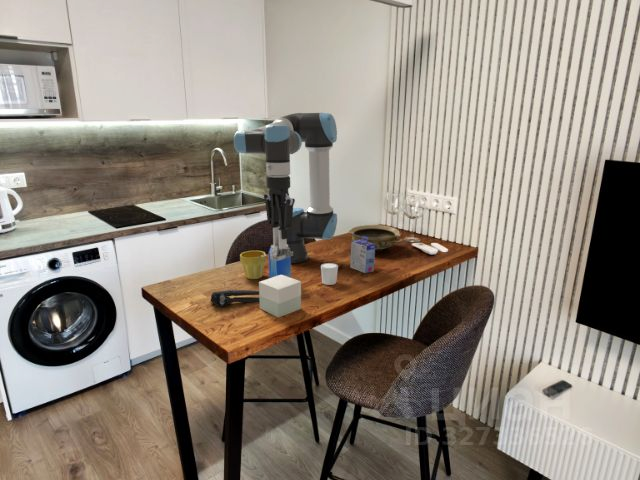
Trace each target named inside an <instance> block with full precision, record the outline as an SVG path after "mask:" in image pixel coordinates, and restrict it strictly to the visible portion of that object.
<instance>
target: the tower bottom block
mask: <svg viewBox="0 0 640 480" xmlns="http://www.w3.org/2000/svg"><path fill="white" fill-rule="evenodd" d="M258 296H259V295H258ZM259 300H260V301H259V309H261V310H262V311H265V312H266V313H269V314H271V316H274V317H276V318H281V317H284V316H285V315H288V314H291V313H293V312H296V311H299V310H301V309H302V295H301V296H298V297H296V298H293V299H291V300H288V301H286V302H283V303H281V304H278V303H275V302H273V301H271V300H268V299H266V298H263V297H261V296H259Z"/></svg>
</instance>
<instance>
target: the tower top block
mask: <svg viewBox="0 0 640 480" xmlns="http://www.w3.org/2000/svg"><path fill="white" fill-rule="evenodd" d="M258 291H259V295H258V296H261V297H263V298H266V299H268V300H271V301H273V302H275V303H278V304H281V303H283V302H286V301H288V300H291V299H293V298H296V297H298V296H301V297H302V282H301V281H300V280H297V279H295V278H292V277H291V278H290V277H287V276H284V275H278V276H275V277H272V278H269V277H268V278H267V279H263V280H261V281H259V282H258Z"/></svg>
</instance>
